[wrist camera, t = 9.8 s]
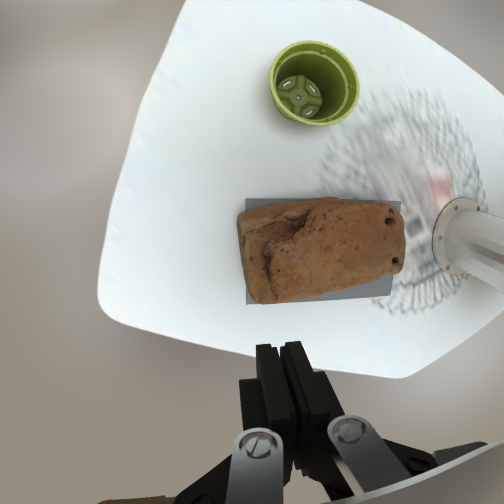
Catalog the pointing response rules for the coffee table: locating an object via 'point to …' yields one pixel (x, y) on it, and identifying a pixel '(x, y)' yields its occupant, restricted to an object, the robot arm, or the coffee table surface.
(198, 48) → the coffee table surface
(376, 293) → the mat
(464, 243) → the robot arm
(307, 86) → the plant pot
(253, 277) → the block
